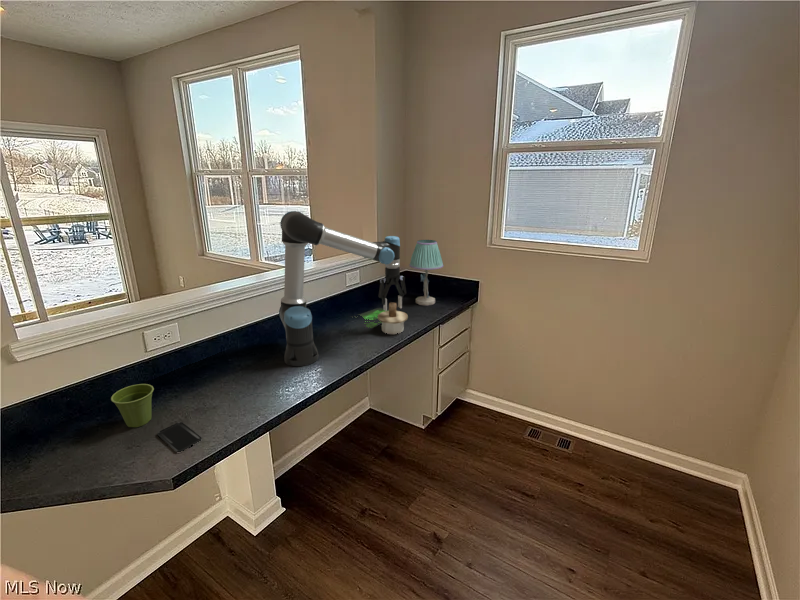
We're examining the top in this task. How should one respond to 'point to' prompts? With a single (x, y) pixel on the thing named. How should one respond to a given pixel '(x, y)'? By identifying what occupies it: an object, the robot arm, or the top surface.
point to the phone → (179, 436)
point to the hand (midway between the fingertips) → (392, 308)
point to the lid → (392, 315)
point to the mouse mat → (371, 316)
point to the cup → (392, 328)
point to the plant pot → (134, 404)
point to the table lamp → (426, 265)
